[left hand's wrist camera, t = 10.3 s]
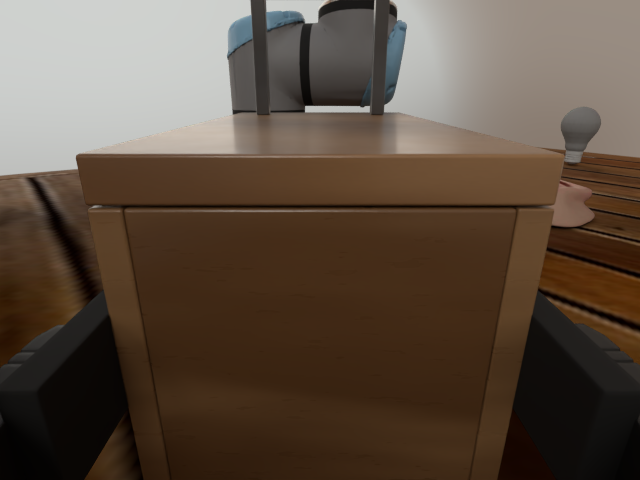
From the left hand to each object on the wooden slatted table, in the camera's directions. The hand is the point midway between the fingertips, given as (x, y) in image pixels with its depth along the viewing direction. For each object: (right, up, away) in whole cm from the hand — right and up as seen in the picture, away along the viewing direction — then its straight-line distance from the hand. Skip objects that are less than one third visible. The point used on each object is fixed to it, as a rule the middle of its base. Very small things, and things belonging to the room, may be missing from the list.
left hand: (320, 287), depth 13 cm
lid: (0, +5, +3) cm, 6 cm away
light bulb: (+47, +15, +60) cm, 78 cm away
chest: (0, -5, +6) cm, 8 cm away
